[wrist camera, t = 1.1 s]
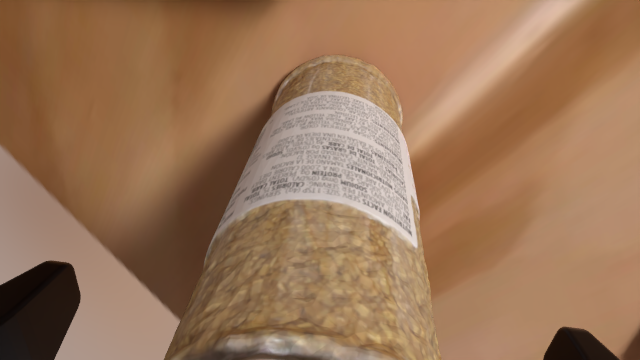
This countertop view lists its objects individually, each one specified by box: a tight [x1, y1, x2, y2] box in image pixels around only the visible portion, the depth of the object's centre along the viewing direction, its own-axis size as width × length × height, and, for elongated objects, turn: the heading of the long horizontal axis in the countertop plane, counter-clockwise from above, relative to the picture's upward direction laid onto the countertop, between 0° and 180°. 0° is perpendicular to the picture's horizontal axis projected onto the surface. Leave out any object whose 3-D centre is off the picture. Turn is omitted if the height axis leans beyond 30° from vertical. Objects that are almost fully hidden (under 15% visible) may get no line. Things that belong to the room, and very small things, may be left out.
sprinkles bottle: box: [164, 55, 441, 360], centre depth 10 cm, size 5×5×14 cm
